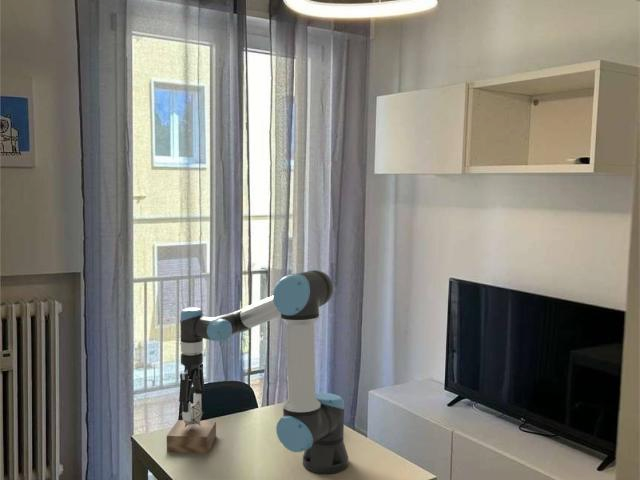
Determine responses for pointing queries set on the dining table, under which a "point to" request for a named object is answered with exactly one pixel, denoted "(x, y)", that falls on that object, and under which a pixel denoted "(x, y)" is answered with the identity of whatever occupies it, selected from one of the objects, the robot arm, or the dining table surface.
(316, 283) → the robot arm
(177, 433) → the walnut block
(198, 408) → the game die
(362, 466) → the dining table surface
